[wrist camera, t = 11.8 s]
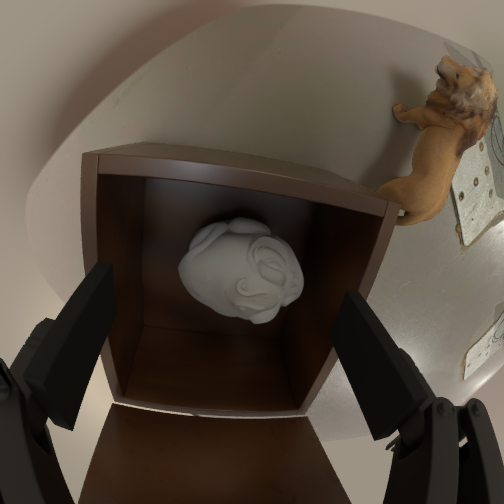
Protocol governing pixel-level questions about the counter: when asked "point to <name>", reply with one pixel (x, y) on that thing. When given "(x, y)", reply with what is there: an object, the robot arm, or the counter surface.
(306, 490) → the chest lid
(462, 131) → the lion figurine
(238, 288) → the frog figurine
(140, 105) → the counter surface
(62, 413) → the robot arm
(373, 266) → the chest
